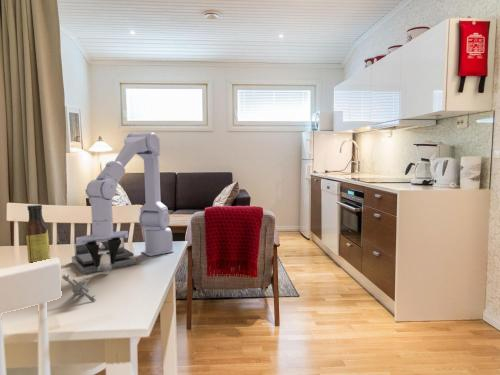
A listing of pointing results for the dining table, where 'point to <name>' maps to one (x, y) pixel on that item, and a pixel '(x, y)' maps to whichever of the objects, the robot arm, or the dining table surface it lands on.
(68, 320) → the dining table surface
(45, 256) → the sauce bottle
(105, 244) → the scale
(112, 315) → the dining table surface
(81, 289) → the grey piece
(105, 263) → the steel spacer
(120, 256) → the pan
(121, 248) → the steel spacer
